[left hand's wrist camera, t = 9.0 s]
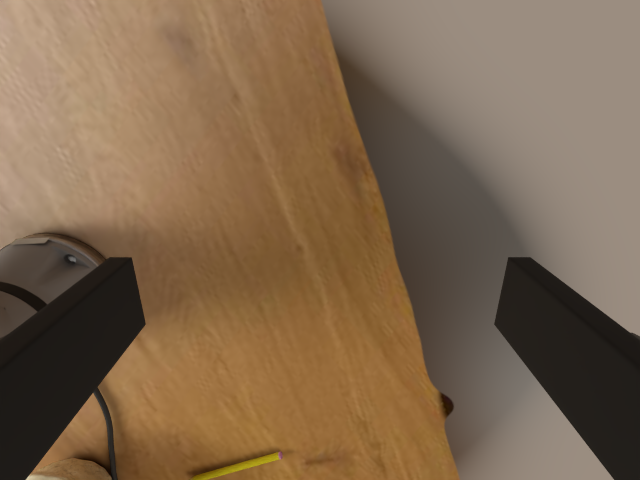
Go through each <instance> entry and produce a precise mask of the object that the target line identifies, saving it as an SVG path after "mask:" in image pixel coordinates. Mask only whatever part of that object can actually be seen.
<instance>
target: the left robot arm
mask: <svg viewBox="0 0 640 480" xmlns="http://www.w3.org/2000/svg"><path fill="white" fill-rule="evenodd" d="M145 325H146V323H145V319H144V314H143V309H142V304H141V300H140V295H139V290H138V285H137V281H136V276H135V271H134V266H133V262H132V257H110V258H108V259H107V260H106V259H105V258H104V257H103V256H101V255H100V254H99V253H98V252H97V251H95V250H94V249H92V248H91V247H89V246H88V245H86V244H84V243H82V242H80V241H78V240H76V239H73V238H70V237H67V236H63V235H58V234H48V233H47V234H35V235H30V236H27V237H24V238H22V239H16V240H15V241H14V242H13V243H11V244H9V245H7V246H5V247H4V248H2V249H1V250H0V480H26V479H27V477H28V476H29V475H30V474H31V472H32V471H33V470H34V468H35V467H36V466H37V464H38V463H39V462H40V461H41V459H42V458H43V457H44V455H45V454H46V453H47V452H48V450H49V449H50V448H51V446H52V445H53V444H54V442H55V441H56V440H57V439H58V437H59V436H60V435H61V433H62V432H63V431H64V429H65V428H66V427H67V426H68V424H69V423H70V422H71V420H72V419H73V418H74V417H75V415H76V414H77V413H78V411H79V410H80V409H81V407H82V406H83V405H84V404H85V402H86V401H87V400H88V398H89V397H90V396H91V394H92V393H94V395H95V397H96V398H97V400H98V402H99V404H100V406H101V409H102V411H103V414H104V417H105V420H106V424H107V432H108V447H109V456H110V467H111V476H112V480H117V474H116V465H115V453H114V442H113V427H112V421H111V417H110V413H109V410H108V408H107V405H106V403H105V401H104V399H103V397H102V395H101V393H100V391H99V389H98V388H97V387H98V385H99V384H100V383H101V382H102V380H103V379H104V378H105V376H106V375H107V374H108V372H109V371H110V370H111V369H112V367H113V366H114V365H115V363H116V362H117V361H118V359H119V358H120V357H121V356H122V354H123V353H124V352H125V350H126V349H127V348H128V347H129V345H130V344H131V343H132V341H133V340H134V339H135V337H136V336H137V335H138V334H139V332H140V331H141V330H142V328H143V327H144V326H145ZM495 326H496V327H497V328H498V330H499V331H500V332H501V333H502V335H503V336H504V337H505V339H506V340H507V341H508V343H509V344H510V345H511V347H512V348H513V349H514V350H515V352H516V353H517V354H518V355H519V357H520V358H521V359H522V361H523V362H524V363H525V365H526V366H527V367H528V369H529V370H530V371H531V372H532V374H533V375H534V376H535V378H536V379H537V380H538V381H539V383H540V384H541V385H542V387H543V388H544V389H545V391H546V392H547V393H548V394H549V396H550V397H551V398H552V400H553V401H554V402H555V404H556V405H557V406H558V407H559V409H560V410H561V411H562V413H563V414H564V415H565V416H566V418H567V419H568V420H569V422H570V423H571V424H572V426H573V427H574V428H575V429H576V431H577V432H578V433H579V435H580V436H581V437H582V439H583V440H584V441H585V442H586V444H587V445H588V446H589V448H590V449H591V450H592V452H593V453H594V454H595V455H596V457H597V458H598V459H599V461H600V462H601V463H602V464H603V466H604V467H605V468H606V470H607V471H608V472H609V473H610V475H611V476H612V477H613V479H614V480H640V336H638V335H636V334H634V333H630V332H628V331H627V330H626V329H624V328H623V327H622V326H620V325H619V324H618V323H616V322H615V321H614V320H612V319H611V318H610V317H608V316H607V315H606V314H604V313H603V312H602V311H600V310H599V309H598V308H597V307H595V306H594V305H593V304H591V303H590V302H589V301H587V300H586V299H585V298H583V297H582V296H581V295H579V294H578V293H577V292H575V291H574V290H573V289H571V288H570V287H569V286H567V285H566V284H565V283H564V282H562V281H561V280H559V279H558V278H557V277H556V276H554V275H553V274H552V273H550V272H549V271H548V270H546V269H545V268H544V267H542V266H541V265H540V264H538V263H537V262H536V261H534V260H533V259H532V258H530V257H509V258H508V262H507V266H506V271H505V276H504V281H503V286H502V290H501V295H500V300H499V304H498V309H497V314H496V319H495Z"/></svg>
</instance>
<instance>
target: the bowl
mask: <svg viewBox="0 0 640 480" xmlns="http://www.w3.org/2000/svg"><path fill="white" fill-rule="evenodd" d="M26 480H112V478H111V476H110V475H109V474H108V473H107V471H106V470H105V469H104V468H103V467H101V466H100V465H98V464H96V463H95V462H93V461H88V460H81V459H77V458H71V459H65V460H61V461H57V462H54V463H52V464H50V465H48V466H45V467H43V468H41V469H40V470H38V471H36V472H34V473H31V474H30V475H29V476H28V477H27V479H26Z"/></svg>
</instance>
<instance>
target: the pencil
mask: <svg viewBox="0 0 640 480" xmlns="http://www.w3.org/2000/svg"><path fill="white" fill-rule="evenodd" d="M279 459H282V452H281V451H280V452H277V453H273V454H270V455H266V456H262V457H259V458H255V459H252V460H248V461H245V462H241V463H238V464H234V465H231V466H227V467H224V468H220V469H216V470H213V471H209V472H206V473H202V474H199V475H195V476H193V477H192V478H191V479H189V480H207V479H211V478H214V477H218V476H221V475H225V474H228V473H232V472H236V471H239V470H243V469H246V468H250V467H254V466H257V465H261V464H264V463H268V462H271V461H275V460H279Z"/></svg>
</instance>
